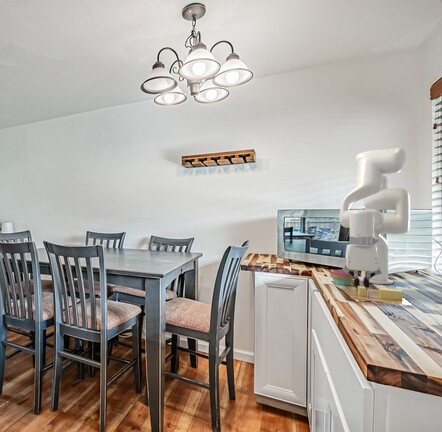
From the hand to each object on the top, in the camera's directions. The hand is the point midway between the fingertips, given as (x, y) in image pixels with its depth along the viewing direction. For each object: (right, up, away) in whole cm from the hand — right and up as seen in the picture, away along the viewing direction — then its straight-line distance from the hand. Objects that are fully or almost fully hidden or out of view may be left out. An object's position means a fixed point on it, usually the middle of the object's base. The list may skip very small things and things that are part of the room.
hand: (361, 288), depth 124 cm
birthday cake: (+1, -2, +13) cm, 13 cm away
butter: (+2, -1, -11) cm, 11 cm away
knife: (-2, -1, -3) cm, 4 cm away
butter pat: (-5, -1, -7) cm, 8 cm away
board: (0, -2, -6) cm, 6 cm away
